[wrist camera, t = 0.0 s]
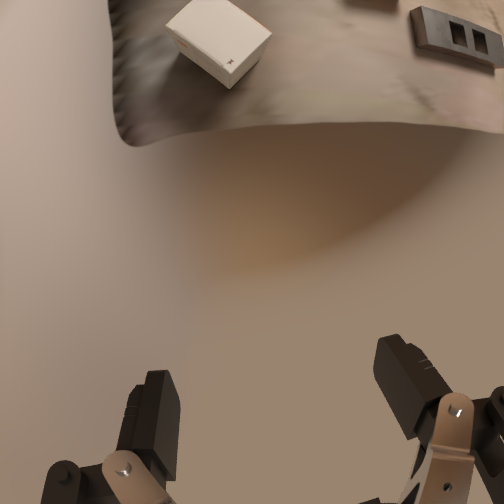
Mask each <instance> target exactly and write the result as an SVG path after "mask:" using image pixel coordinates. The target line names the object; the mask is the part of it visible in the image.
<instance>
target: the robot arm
mask: <svg viewBox="0 0 504 504" xmlns="http://www.w3.org/2000/svg"><path fill="white" fill-rule="evenodd" d="M373 371H374V377H375V380H376V381H377V383H378V385H379V387H380V389H381V391H382V392H383V394H384V396H385V398H386V400H387V402H388V404H389V406H390V407H391V409H392V411H393V413H394V415H395V417H396V419H397V421H398V423H399V424H400V426H401V428H402V430H403V432H404V434H405V436H406V438H407V440H410V439H413V438H415V437H418V439H419V440H420V442H419V445H418V447H417V451H416V455H415V459H414V462H413V465H412V468H411V471H410V475H409V478H408V481H407V483H406V486H405V488H404V490H403V492H402V494H401V496H400V498H399V500H398V502H397V503H380V500H379V498H376V499H372V500H369V501H366V502H363V503H360V504H467V499H468V494H469V490H470V485H471V479H472V474H473V468H474V464H475V466H476V468H477V470H478V472H479V474H480V476H481V478H482V480H483V482H484V484H485V486H486V488H487V491H488V493H489V495H490V497H491V499H492V502H493V504H504V443H503V441H502V440H501V438H500V435H501V436H502V438H503V440H504V386H500V387H497V388H496V389H495V390H494V391H493V392H492V394H491V396H490V397H489V398H483V399H476V400H471V399H470V398H469V397H468V396H466V395H464V394H462V393H457V392H455V393H453V391H452V390H451V389H450V387H449V386H448V385H447V383H446V382H445V381H444V379H443V378H442V377H441V375H440V374H439V373H438V372H437V370H436V369H435V367H433V365H432V363H431V362H430V361H429V360H428V358H427V357H426V355H425V354H424V353H423V352H422V350H421V349H419V348H418V347H416V346H415V345H413V344H412V343H409V344H406V343H405V342H404V340H403V339H402V338H401V336H400V335H398V334H394V335H390V336H386V337H382V338H380V339H379V340H378V343H377V350H376V355H375V360H374V366H373ZM124 415H125V417H124V418H123V422H122V426H121V430H120V435H119V439H118V444H117V448H116V451H115V452H113V453H111V454H110V455H108V456H107V457H106V459H105V460H104V462H103V463H101V464H98V465H92V466H87V467H81V468H79V467H78V466H77V465H76V464H75V463H73V462H71V461H67V460H64V461H59V462H56V463H55V464H53V466H51V467H50V469H49V471H48V473H47V477H46V481H45V485H44V490H43V494H42V499H41V504H176V503H175V502H174V500H173V499H172V498H171V497H170V496H169V494H168V493H167V492H166V481H175V480H176V463H177V449H178V435H179V422H180V400H179V396H178V394H177V391H176V388H175V386H174V383H173V381H172V378H171V375H170V373H169V371H168V370H156V371H148V372H147V376H146V380H145V384H144V385H136V386H135V388H134V389H133V390H132V392H131V393H130V394H129V398H128V401H127V408H126V410H125V414H124Z"/></svg>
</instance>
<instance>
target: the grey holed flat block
mask: <svg viewBox="0 0 504 504" xmlns="http://www.w3.org/2000/svg"><path fill="white" fill-rule="evenodd" d="M410 14H411V19H412V24H413V29H414V34H415V40H416V46H417V47H418V48H423V49H427V50H432V51H436V52H441V53H445V54H449V55H452V56H456V57H460V58H463V59H467V60H470V61H473V62H477V63H480V64H483V65H486V66H489V67H492V68H495V69H497V68H504V48H503V42H502V37H501V35H499V34H497V33H495V32H493V31H490V30H488V29H486V28H483V27H481V26H479V25H476V24H474V23H471V22H468V21H466V20H463V19H460V18H458V17H455V16H452V15H449V14H446V13H443V12H440V11H437V10H433V9H430V8H427V7H423V6H420V7H418V8H415V9H413V10H411V11H410ZM450 28H451V29H452V32H453V37H454V43H455V44H453V40H452V35H451V30H450Z"/></svg>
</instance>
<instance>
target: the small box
mask: <svg viewBox="0 0 504 504" xmlns="http://www.w3.org/2000/svg"><path fill="white" fill-rule="evenodd" d="M165 27H166V29H167V31H168V32H169V34H170V35H171V37H172V39H173V40H174V42H175V44H176V45H177V47H178V49H179V50H180V52H181V53H182V54H184V55H185V56H187V57H188V58H189V59H191V60H192V61H193V62H195V63H196V64H197V65H199V66H200V67H201V68H203V69H204V70H205V71H207V72H208V73H209V74H211V75H212V76H213V77H215V78H216V79H217V80H218V81H220V82H221V83H222V84H223V85H225V86H226V87H227V88H228V89H231V88H232V86H233V85H234V84H235V83H236V82H237V81H238V80H239V79H240V78H241V77H242V76H243V75H244V74H245V73H246V72H247V71H248V70H249V69H250V68H251V67H252V66H253V65H254V64H255V63H256V62H257V61H258V60H259V59H260V58H261V56H262V54H263V52H264V50H265V48H266V46H267V44H268V42H269V40H270V38H271V36H272V32H270V31H269V30H268V29H266V28H265V27H264V26H263V25H261V24H260V23H259V22H257V21H256V20H255V19H253V18H252V17H251V16H249V15H248V14H247V13H245V12H244V11H242V10H241V9H240V8H238V7H237V6H235V5H234V4H232V3H231V2H229V1H228V0H192V1H191V2H190V3H189V4H187V5H186V6H185V7H184V8H183V9H182V10H181V11H180V12H179V13H178V14H177V15H175V16H174V17H173V18H172V19H171V20H170V21H169V22H168V23H167V24H166V25H165Z"/></svg>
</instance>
